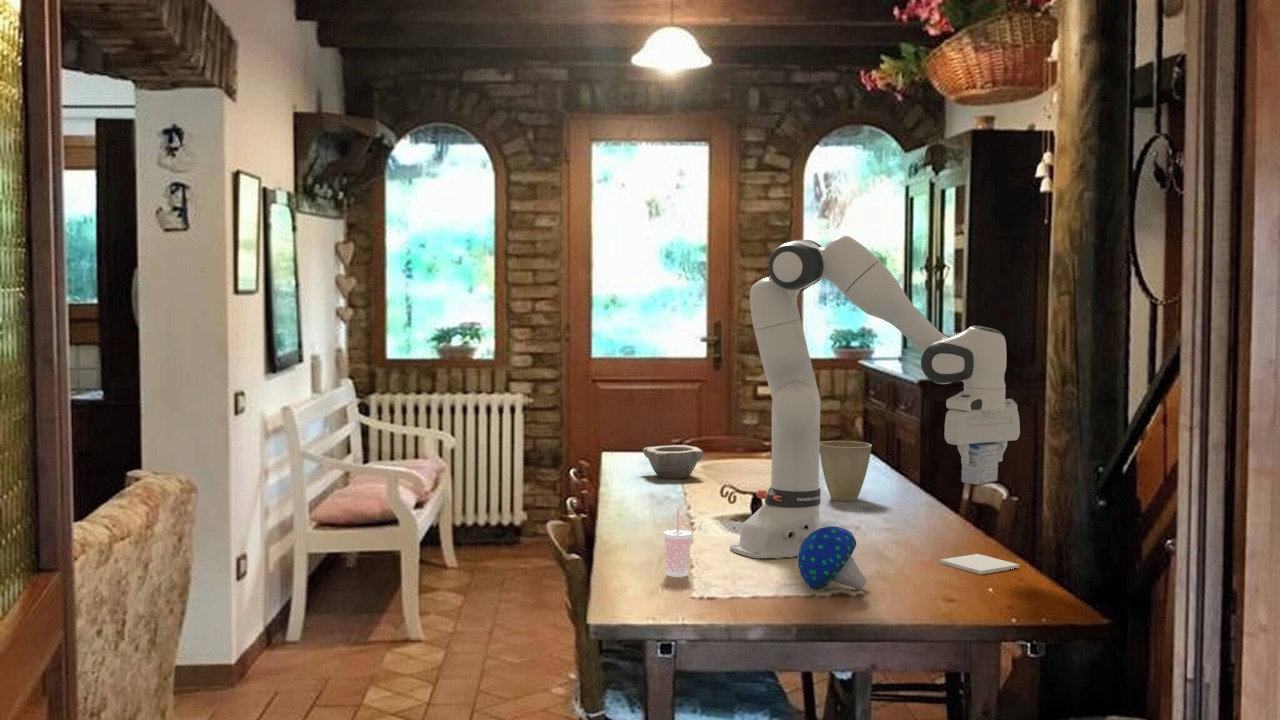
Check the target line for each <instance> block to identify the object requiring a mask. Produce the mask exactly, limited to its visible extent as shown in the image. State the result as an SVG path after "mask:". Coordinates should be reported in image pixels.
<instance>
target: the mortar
mask: <svg viewBox="0 0 1280 720" xmlns="http://www.w3.org/2000/svg"><path fill="white" fill-rule="evenodd" d="M642 452H643V454H644V456H645V458H647V459H648V461H649V464H650V466H651V467H652V470H653V472H654V473H655V474H656V476H657V477H659V478H663V479H672V480H673V479H674V480H676V479H686V478H688V477H689V476H691V474H692V473H693V471H694V469H695V468H696V467H697V463H698V462H700V461H701V460H702V458H703V456H704V451H703V450H702V449H701V448H699V447H697V446H693V445H692V446H691V445H686V444H676V445H675V444H673V445H671V444H670V445H657V446H647V447H644V448H643V449H642ZM694 467H695V468H694Z"/></svg>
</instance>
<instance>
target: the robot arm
mask: <svg viewBox="0 0 1280 720" xmlns="http://www.w3.org/2000/svg"><path fill="white" fill-rule="evenodd" d="M768 258H769V259H768V263H767V268H768V269H767V270H768V274H769V276H767V277H764V278H761V279H759V280H757V282H755V283H754V284H752V286H751V287H750V290H749V306H750V313H751V315H750V317H751V322H752V327H753V331H754V336H755V339H756V342H757V347H758V353H759V357H760V360H761V364H762V368H763V371H764V374H765V379H766V382H767V385H768V388H769V392H770V395H771V399H772V403H771V472H770V473H771V478H770V479H771V481H770V483H771V485H770V486H769V488H768V491H766V490H763V489H758V490H757V491H756V493H755V494H756V497H757V498H759V499H762V500H764V504H763V505H761V506H760V508H758V509H757V510H756V511H755V512H754V513H753V514H752V515H751V516H750V517H749V518H747V519H746V520H745V521H744V522H743V524H742V526H741V530H740V535H739V542H733V543H730V544H729V545H730V546H729V550H731V551H732V552H734V553H736V554H738V555H742V556H745V557H749V558H753V557H754V559H759V558H762V559H761V560H764V559H763V558H776V559H781V558H780V557H789V558H794V557H793V556H798V553H799V550H800V546H801V545H802V543H803V542H804V540H805V539H806V538H807V536H808V535H809V534H811V533H812V532H814V531H816V530H818V529H820V528H821V522H820V504H821V488H820V485H819V484H820V442H821V441H820V439H821V438H820V437H821V434H820V433H821V396H820V392H819V388H818V384H817V380H816V377H815V373H814V369H813V365H812V360H811V356H810V353H809V348H808V344H807V341H806V337H805V332H804V328H803V324H802V323H803V322H802V319H801V314H800V311H799V307H798V296H799V293H802V292H804V291H805V290H807V289H808V288H809V287H811V286H814V285H816V284H817V283H819V281H821V280H826V281H828V282H830V283H831V284H833V285H834V286H835V287H836V288H837V289H838V290H839V291H840V292H841V293H842V294H843V295H844V296H845V298H846V299H848V301H849V302H851V303H852V304H853V305H854V306H855V307H856V308H858V309H859V310H861V311H862V312H864V313H865V314H867V315H869V316H872V317H875V318H878V319H880V320H883V321H885V322H887V323H889V324H890V325H892V326H893V327H895V328H896V329H897V330H898V331H899V332H900V333H901V334H902V335H903V336H904V337H905V338H907V340H908V341H909V342H910V343H911V344H913V346H914V347H915V348H917V350H918V351H919V352H920V353H921V355H922V356H921V358H920V366H921V370H922V372H923V374H924V375H925V377H926V378H927V379H928V380H929V381H931V382H933V383H935V384H938V385H946V384H947V385H948V384H952V383H957V382H962V383H963V390H961V391H960V392H958V393H957V394H955V395H953V396H951V397H949V398H947V399H946V401H945V402H946V403H945V406H946V408H947V409H949V410H948V411H946V414H945V419H944V440H945V442H946V443H947V444H950V445H953V446H954V445H955V446H957V450H958V452H959V455H960V457H961V458H960V463H961V465H962V464H964V465H968V464H972V461H971V460H972V456H969V453H968V450H967V449H969V444H977V443H988V442H995V443H998V444H999V458H998V463H999V462H1003V460H1004V459H1003V458H1004V454H1005V452H1006V449H1007V447H1008V441H1009V442H1010V441H1017V440H1018V439H1019V437H1020V435H1021V429H1020V428H1021V425H1020V423H1021V422H1020V415H1019V411H1018V404H1017V403H1016V401H1014V399H1013V398H1006V382H1005V374H1006V369H1007V343H1006V341H1007V340H1006V338H1005V336H1004V334H1003V333H1002V332H1001V331H999V330H998V329H995V328H991V327H988V326H987V327H986V326H981V325H971V326H969V327H968V328H966V329H965V330H964V331H962V332H960V333H958V334H956V335H954V336H953V335H952V336H949V335H947V334H945V333H944V332H941V331H940V330H939V329H938V328H937V327H936V326H935V325H934V324H933V323H932V322H931V321H930V320H929V319H928V318H927V317H926V316H925V315H924V314H923V313H921V311H919V309H918V308H917V307H916V306H915V305H913V302H911V300H910V299H909V297H908V296H907V294H906V293H905V291H904V290H903V288H902V286H901V285H900V284H899V282H898V281H897V280H896V277H895V276H894V275H893V273H891V271H890V270H889V269H888V267H886V265H885V264H884V263H883V262H882V261H881V260H880V259H879V258H878V257H877V256H876V255H875V254H873V252H872V251H870V250H869V249H868V248H867V247H866V246H864V245H863V244H862V243H860V242H859V241H857V240H856V239H854V238H853V237H852V236H848V235H838V236H837V237H836V236H835V237H834V238H833V239H830V241H828V242H827V243H826V244H825V245H824V246H822V245H821V244H819V243H818V242H816V241H813V240H810V239H794V240H791V241H788V242H785V243H783V244H781V245H779V246H777V247H776V248H775V249H774V250H773V251H772V253H771V254H770V257H768Z"/></svg>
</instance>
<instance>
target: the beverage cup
mask: <svg viewBox="0 0 1280 720" xmlns="http://www.w3.org/2000/svg"><path fill="white" fill-rule="evenodd" d="M663 537H664V551H665V574H666V576H668V577H674V578H682V577H683V578H684V577H687V576H688V575H689V566H690V565H689V564H690V553H691V540H692V537H693V532H692V531H690V530H686V529H680V509H679V508H677V509H676V529H668V530H664V531H663Z"/></svg>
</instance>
